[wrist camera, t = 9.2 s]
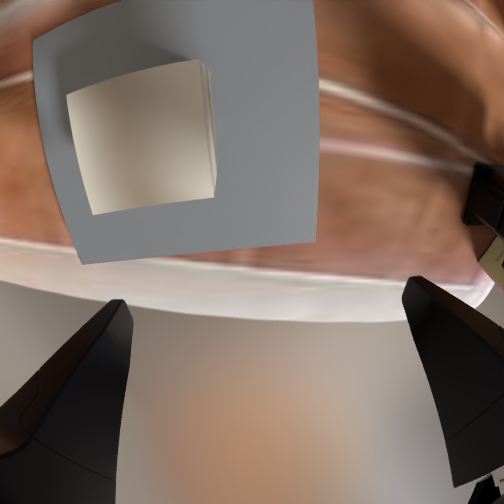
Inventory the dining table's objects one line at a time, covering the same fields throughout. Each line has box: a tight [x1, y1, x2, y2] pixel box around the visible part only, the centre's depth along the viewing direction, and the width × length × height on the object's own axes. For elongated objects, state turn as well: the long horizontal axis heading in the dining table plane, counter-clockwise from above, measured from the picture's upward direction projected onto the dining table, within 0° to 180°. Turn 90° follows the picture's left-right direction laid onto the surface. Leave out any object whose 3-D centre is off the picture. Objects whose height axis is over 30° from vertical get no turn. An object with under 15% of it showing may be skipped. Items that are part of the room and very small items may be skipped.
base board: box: [33, 0, 320, 265], centre depth 14 cm, size 16×16×3 cm
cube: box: [66, 59, 218, 215], centre depth 10 cm, size 5×5×5 cm
